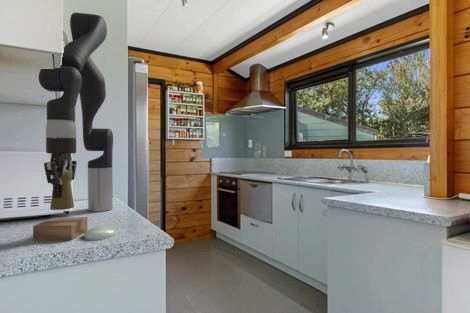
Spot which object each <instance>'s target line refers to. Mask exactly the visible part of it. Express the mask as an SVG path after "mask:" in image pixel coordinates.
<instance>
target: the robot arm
mask: <svg viewBox="0 0 470 313" xmlns="http://www.w3.org/2000/svg"><path fill="white" fill-rule="evenodd" d="M69 26H70V34H71V39H72V41H70V42H68V43H67V44H65V45H64V47H63V48H64V53H63V57H62V65H61V67H60V68H55V69H41V68H40V70H39V73H38V82H39V84H40V86H41V87H42V88H43V89H44V90H46V91H47V92H62V95H61V96H60V97H58V98H54V99H49V100H48V101H47V102H46V125H45V152H46V154H51V155H50V161H48V162H44V163H43V167H44V172H45V176H46V180H47V183H48V184H50V185H51V186H52V192H53V198H61V197H62V181H63V180H62V177H63V176H64V175H65V172H66V170H70V171H71V172H72V179H71V180H70V183H71V184H72V180H75V176H76V170H77V163H78V162H77V161H76V160H73V159H72V154H76V153H77V127H76V106H77V102H78V97H79V99H80V101H79V102H80V107H81V116H82V118H81V120H82V142H83V146H84V149H85V151H88V152H103V154H101V155H100V156H98V157H96V158H93V159H91V160H89V161H88V162H87V210H88V212H95V213H96V212H107V211H111V210H113V207H114V206H113V204H114V203H113V201H114V200H113V194H114V193H113V149H114V148H113V147H114V135H113V134H114V133H113V131H112V129H111V128H99V127H98V128H94V127H93V122H94V119H95V117H96V114H97V113H98V112H99V110H100V108H101V107H102V105H103V104H104V102H105V100H106V97H107V91H106V80H105V77H104V76H103V73H102V72H101V70H100V69H99V68H98V66H97V65H96V64H95V63H94V61H93V59H92V57H91V55H92V54H93V53H94V52H95V51H96V50H97V49H98V48H99V47H100V46H101V45H102V44H103V43H104V42H105V40H106V38H107V34H108V30H107V29H108V28H107V23H106V20H105V18H104V17H103V16H102V15H99V14H93V13H83V12H73V13H71V15H70V19H69ZM57 172H61V173H57ZM58 176H59V178H58Z"/></svg>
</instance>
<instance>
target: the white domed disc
mask: <svg viewBox="0 0 470 313" xmlns="http://www.w3.org/2000/svg"><path fill="white" fill-rule="evenodd" d="M114 236H116V228H114V227H109V226H99V227H93V228H88V229H87V230H86V231H85V232H84V233H83V237H84V239H85V240H89V241H101V240H106V239H110V238H113V237H114Z"/></svg>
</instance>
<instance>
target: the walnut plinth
mask: <svg viewBox="0 0 470 313" xmlns="http://www.w3.org/2000/svg"><path fill="white" fill-rule="evenodd" d="M86 230H88V217H87V216H86V217H85V216H84V217H83V216H82V217H71V216H70V217H52V218H49V219H46V220H44V221H42V222H39V223H36V224H35V225H32V240H33V241H34V242H37V241H39V242H40V241H42V242H43V241H46V242H47V241H49V242H50V241H73V240H74V239H76V238H78V237H79V236H81V235H82V234H84V232H85V231H86ZM33 241H32V242H33Z"/></svg>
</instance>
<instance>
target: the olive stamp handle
mask: <svg viewBox="0 0 470 313" xmlns="http://www.w3.org/2000/svg"><path fill="white" fill-rule="evenodd" d="M57 173H61V172H57ZM58 178H59V176H58ZM71 179H72V172H71V171H70V170H66V172H65V175H64V176H63V177H62V180H63V181H62V197H61V198H53V191H51V192H52V193H51V199H50V206H49V207H50V208H49V209H50V210H52V211H62V210H64V211H65V210H69V209H73V208H75V203H74V198H73V197H74V196H73V188H72V182H71V183H70V180H71Z"/></svg>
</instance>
